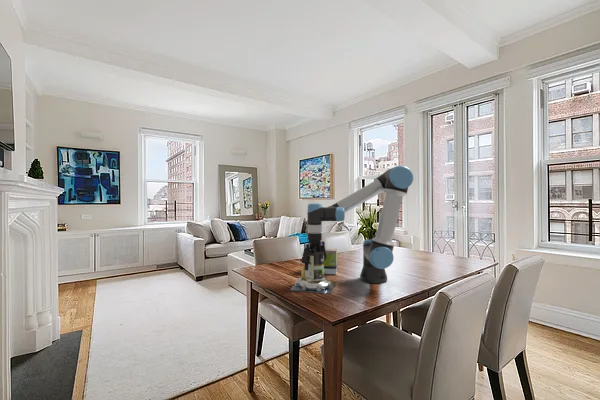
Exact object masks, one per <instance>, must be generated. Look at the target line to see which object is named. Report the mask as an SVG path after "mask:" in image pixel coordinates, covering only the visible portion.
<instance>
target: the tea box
mask: <svg viewBox="0 0 600 400" xmlns="http://www.w3.org/2000/svg"><path fill="white" fill-rule="evenodd" d="M325 251H326V256H327V259H326V260H325V261H324V275H337V273H338V249H337V248H332V247H331V248H327V247H325Z"/></svg>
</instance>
